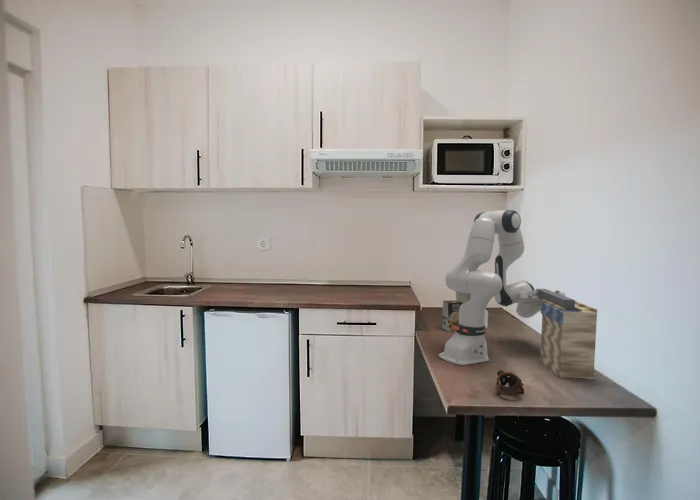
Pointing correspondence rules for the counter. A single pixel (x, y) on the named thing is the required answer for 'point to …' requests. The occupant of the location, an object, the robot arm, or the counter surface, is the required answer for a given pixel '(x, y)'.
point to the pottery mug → (512, 381)
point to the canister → (462, 297)
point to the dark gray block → (556, 299)
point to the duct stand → (568, 340)
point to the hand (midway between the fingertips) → (547, 291)
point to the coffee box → (450, 314)
